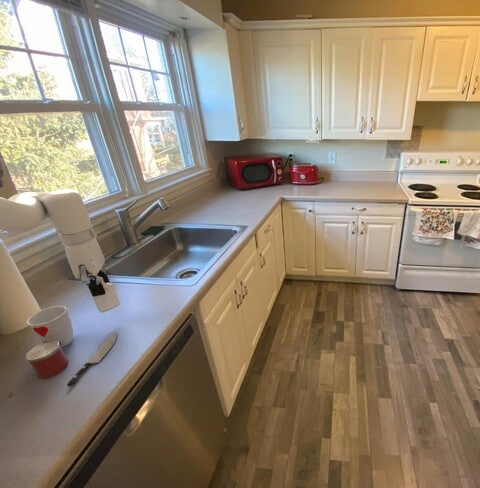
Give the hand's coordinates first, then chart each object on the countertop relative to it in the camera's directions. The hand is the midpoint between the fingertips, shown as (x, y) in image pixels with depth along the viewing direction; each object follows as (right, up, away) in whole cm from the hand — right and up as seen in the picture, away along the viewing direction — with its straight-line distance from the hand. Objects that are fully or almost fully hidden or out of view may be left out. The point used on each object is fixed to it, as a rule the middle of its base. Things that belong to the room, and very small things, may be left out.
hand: (101, 289), depth 85 cm
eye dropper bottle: (0, -6, +3) cm, 7 cm away
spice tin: (-3, -19, -12) cm, 22 cm away
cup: (-9, -15, -3) cm, 18 cm away
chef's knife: (+6, -17, -8) cm, 20 cm away
